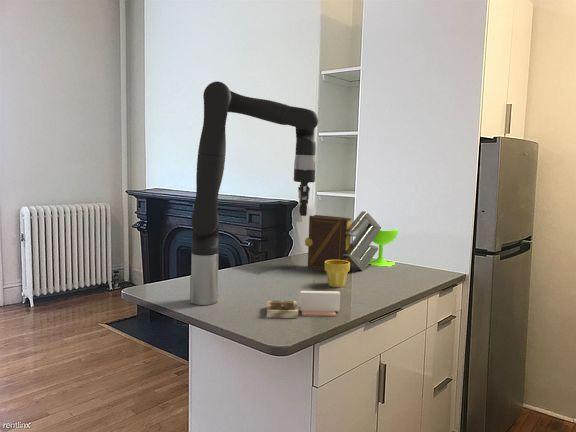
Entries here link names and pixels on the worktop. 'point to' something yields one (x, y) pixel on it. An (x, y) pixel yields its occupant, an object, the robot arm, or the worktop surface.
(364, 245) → the emblem
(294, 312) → the birch rack
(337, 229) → the wooden crate
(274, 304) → the walnut offcut left
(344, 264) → the plant pot
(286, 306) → the walnut offcut right
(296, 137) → the robot arm
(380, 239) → the wineglass
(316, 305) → the light grey flat block
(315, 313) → the terracotta tile
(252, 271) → the worktop surface
